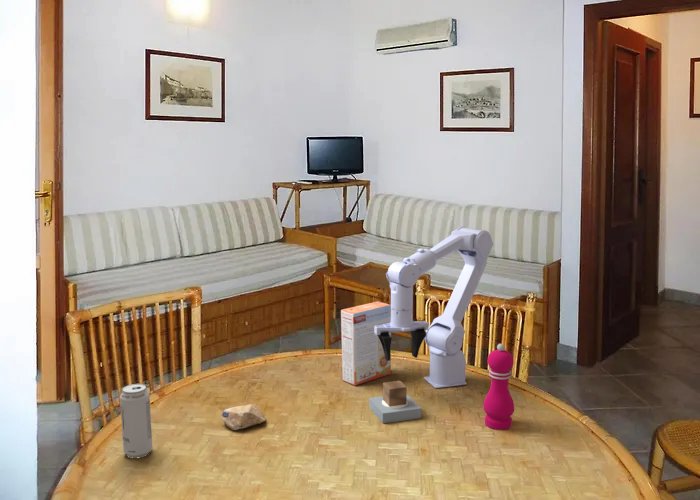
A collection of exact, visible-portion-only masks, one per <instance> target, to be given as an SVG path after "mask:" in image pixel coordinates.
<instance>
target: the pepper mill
mask: <svg viewBox="0 0 700 500" xmlns="http://www.w3.org/2000/svg"><path fill="white" fill-rule="evenodd" d="M496 348H497V349H494V350H492V351H490V353H489V354H488V356H487V364H488V366H489V367H488V368H490V369H489V370H488V371H489V373H488V376H489V377H490V380H491V381H490V388H489V390H488V392H487V394H486V396H485V398H484V401H483V404H482V405H483V406H482V407H483V411H484V412H485V414H486V415H485V416H484V424H485V427H488V428H490V429H492V430H498V431H499V430H500V431H501V430H502V431H503V430H508V429H510V428H511V427H512V426H513V424H512V423H513V422H512V421H513V418H512V415H513V414H514V412H515V403H514V399H513V397H512V395H511V392H510V388H509V380H510V379H511V377H512V375H511V374H512V371H511V369H512V368H513V366H514V363H515V361H514V357H513V355H512V354H511V352H510V351H508V350H506V346H505V345H504V344H503V343H498V344H497V346H496Z"/></svg>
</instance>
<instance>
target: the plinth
mask: <svg viewBox="0 0 700 500" xmlns="http://www.w3.org/2000/svg"><path fill="white" fill-rule="evenodd" d="M368 404H369V405H368V407H369V409H370V410H371V411H372V412H373V414H374V415H375V416H376V417H377V418H378V420H379V421H380V422H381V423H382V424H386V423H394V422H402V421H408V420H409V421H410V420H416V419H421V418H422V407H421V406H420V405H419V404H418V403H417V402H416V401H415V400H414V399H412V397H411V396H409V394H407V398H406V404H405V405H397V406H390V407H389V406H388V405H387V404H386V402H385V401H384V400H383V395H381V396H375V397H369V398H368Z"/></svg>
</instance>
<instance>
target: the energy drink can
mask: <svg viewBox="0 0 700 500" xmlns="http://www.w3.org/2000/svg"><path fill="white" fill-rule="evenodd" d="M150 397H151V396H150V392H149V391H148V390H147V386H146V385H145V384H142V383H134V384H133V383H132V384H128V385H125V386H124V387H123V388H122V391H121V394H120V396H119V403H120V419H121V431H122V446H123V447H122V448H123V454H125V455H126V454H127V455H126V457H127V456H129V457H133V458H137V457H142V458H144V457H143V456H145V455H147V454H148V453H149V452H150V453H151V450H152V449H153V434H152V433H153V432H152V419H151V418H152V417H151V416H152V414H151V399H150ZM150 453H149V454H150ZM149 454H148V455H149ZM148 455H147V456H148ZM129 457H128V458H129ZM145 457H146V456H145ZM133 458H132V459H133ZM137 459H138V458H137Z"/></svg>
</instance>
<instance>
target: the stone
mask: <svg viewBox="0 0 700 500" xmlns="http://www.w3.org/2000/svg"><path fill="white" fill-rule="evenodd" d="M221 421H223V422H224V424H225V426H226V428H229V429H230V430H232V431H239V430H240V429H241V430H242V429H246V428H249V427H252V426H255V425H259V424H260V425H261V424H262V423H264V422H265V421H267V418H266V417H265V415H264V414H263V412H262V411H261V409H260V408H259V407H258V406H257V405H256V404H254V403H250V404H246V405H239V406H232V407H229V408H225V409H224V410H223V412H222V413H221ZM241 426H242V427H241Z"/></svg>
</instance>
